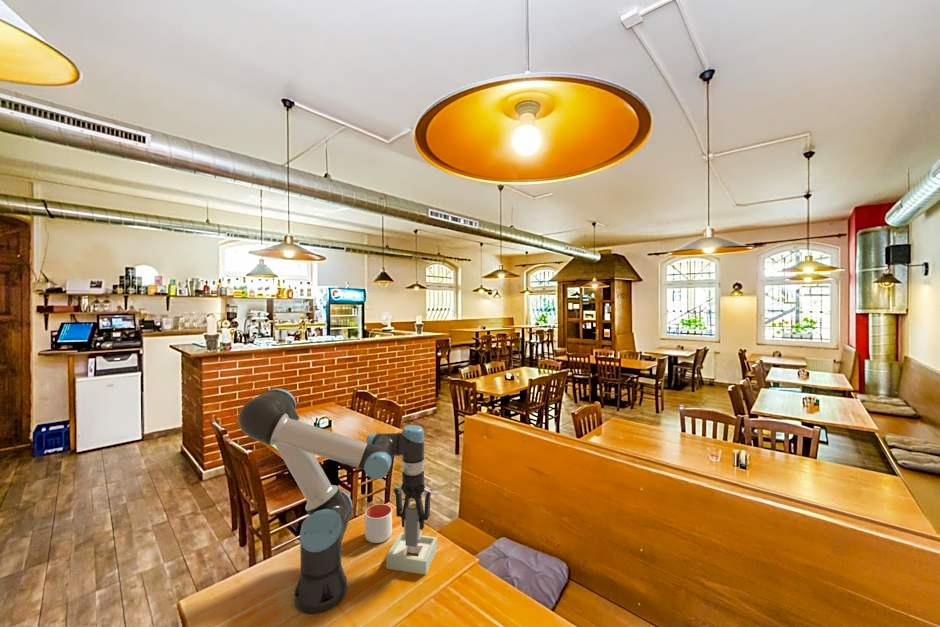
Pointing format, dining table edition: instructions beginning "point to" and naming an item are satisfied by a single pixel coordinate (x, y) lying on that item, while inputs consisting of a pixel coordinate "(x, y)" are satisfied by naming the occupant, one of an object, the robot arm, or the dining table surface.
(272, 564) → the dining table surface
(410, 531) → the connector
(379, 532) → the cup
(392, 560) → the walled box
